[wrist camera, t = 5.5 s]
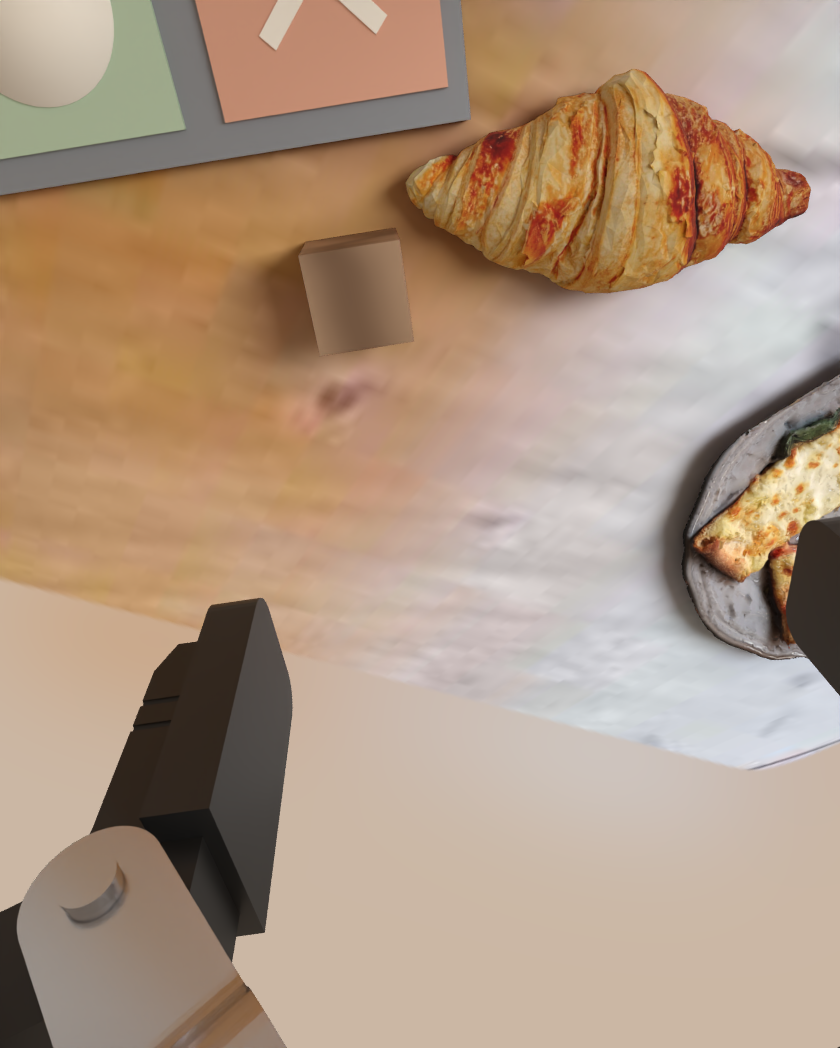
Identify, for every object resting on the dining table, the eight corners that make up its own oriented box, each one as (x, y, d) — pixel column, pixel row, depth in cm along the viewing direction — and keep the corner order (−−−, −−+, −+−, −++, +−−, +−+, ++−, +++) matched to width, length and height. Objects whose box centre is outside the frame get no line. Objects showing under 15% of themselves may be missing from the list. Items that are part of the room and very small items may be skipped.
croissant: (402, 235, 40) (407, 327, 36) (404, 47, 32) (410, 138, 28) (745, 235, 41) (788, 325, 37) (836, 52, 33) (905, 141, 29)
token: (395, 227, 37) (399, 239, 32) (408, 318, 39) (414, 341, 35) (305, 241, 37) (298, 255, 33) (324, 332, 39) (319, 356, 35)
